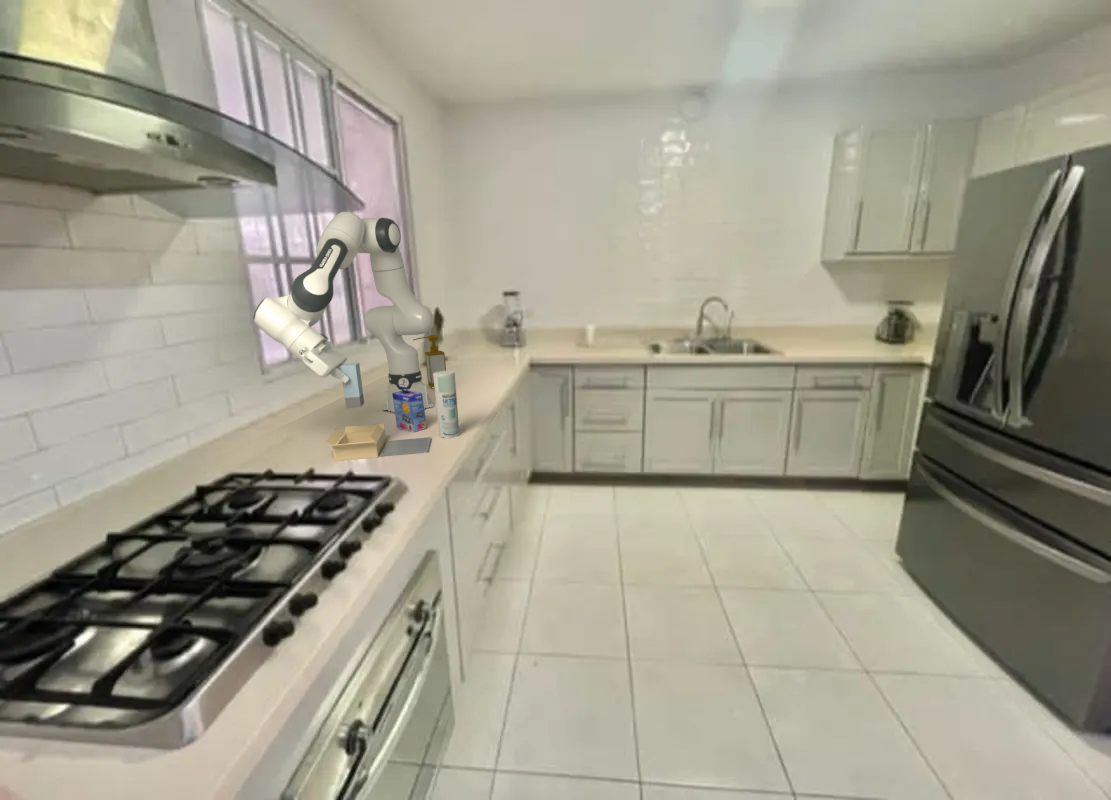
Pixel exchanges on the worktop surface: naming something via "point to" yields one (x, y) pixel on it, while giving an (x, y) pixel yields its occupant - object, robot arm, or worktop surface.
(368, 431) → the carton
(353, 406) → the blue-grey rectangular block
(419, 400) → the ink cartridge box
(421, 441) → the plate
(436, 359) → the soap bottle
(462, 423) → the worktop surface
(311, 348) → the robot arm
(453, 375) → the spray can
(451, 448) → the worktop surface
